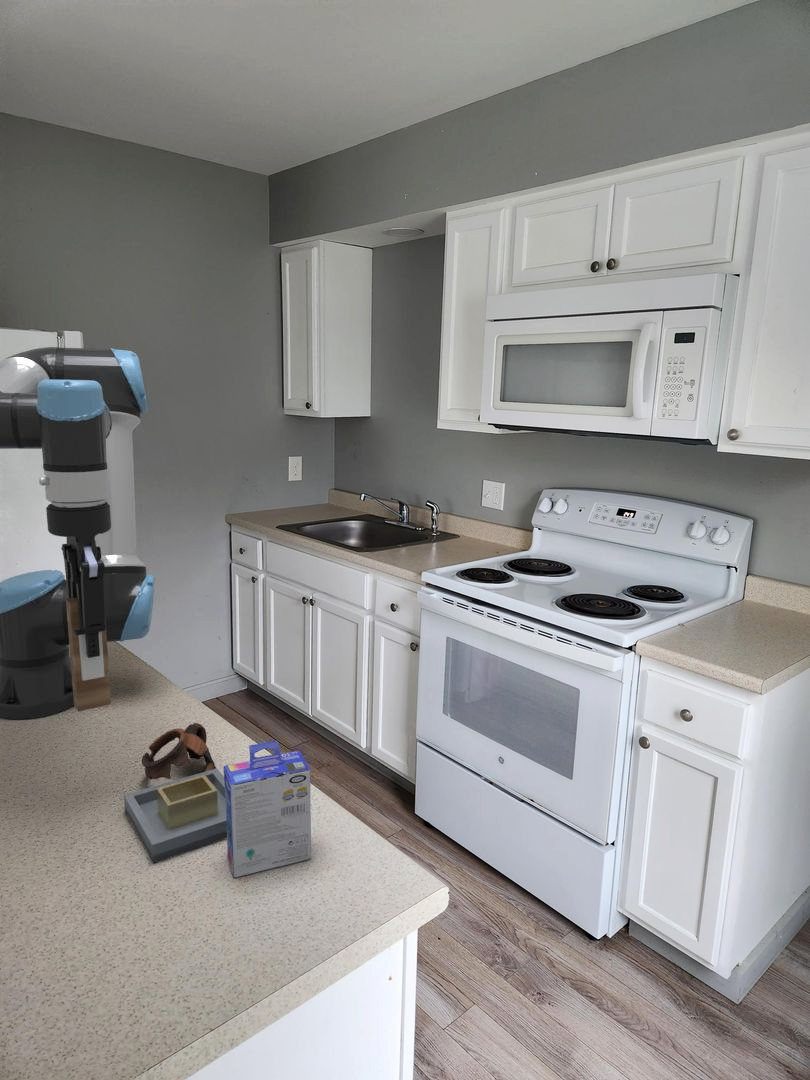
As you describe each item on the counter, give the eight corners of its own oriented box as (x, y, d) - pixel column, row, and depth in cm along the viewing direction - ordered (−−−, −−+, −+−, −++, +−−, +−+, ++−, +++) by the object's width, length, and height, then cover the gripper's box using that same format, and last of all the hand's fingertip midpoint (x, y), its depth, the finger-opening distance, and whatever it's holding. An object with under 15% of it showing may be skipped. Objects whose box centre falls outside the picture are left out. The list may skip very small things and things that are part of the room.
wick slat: (74, 704, 100) (65, 599, 96) (106, 697, 102) (99, 594, 99) (78, 711, 97) (70, 604, 94) (111, 704, 100) (104, 599, 97)
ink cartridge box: (301, 834, 95) (300, 731, 92) (314, 859, 90) (313, 751, 87) (224, 852, 91) (221, 745, 88) (233, 880, 86) (230, 767, 83)
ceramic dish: (124, 811, 99) (123, 795, 98) (217, 784, 106) (216, 768, 106) (153, 863, 88) (152, 845, 88) (253, 828, 96) (253, 811, 95)
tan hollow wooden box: (157, 812, 97) (156, 788, 96) (205, 797, 101) (204, 774, 100) (169, 830, 93) (168, 805, 93) (218, 814, 97) (217, 790, 96)
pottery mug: (211, 798, 104) (179, 757, 100) (157, 817, 106) (124, 778, 103) (234, 739, 114) (205, 701, 111) (184, 757, 117) (155, 720, 113)
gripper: (35, 495, 98) (49, 660, 103) (58, 514, 85) (72, 700, 90) (95, 492, 102) (105, 650, 107) (124, 509, 90) (134, 687, 95)
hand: (90, 673), depth 99 cm, fingers closed on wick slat, 3 cm apart
